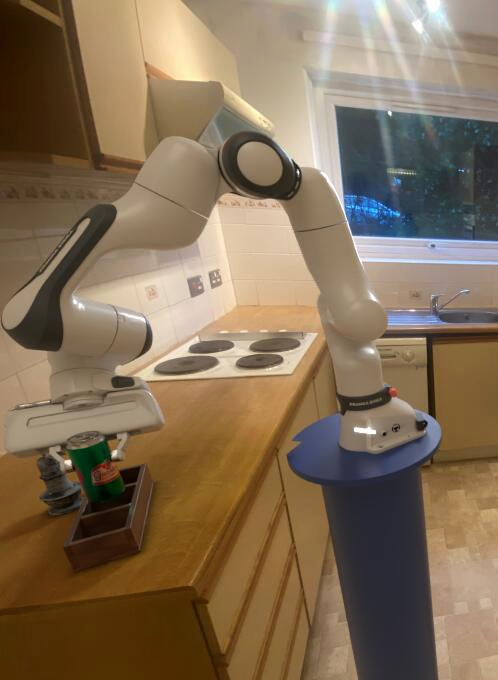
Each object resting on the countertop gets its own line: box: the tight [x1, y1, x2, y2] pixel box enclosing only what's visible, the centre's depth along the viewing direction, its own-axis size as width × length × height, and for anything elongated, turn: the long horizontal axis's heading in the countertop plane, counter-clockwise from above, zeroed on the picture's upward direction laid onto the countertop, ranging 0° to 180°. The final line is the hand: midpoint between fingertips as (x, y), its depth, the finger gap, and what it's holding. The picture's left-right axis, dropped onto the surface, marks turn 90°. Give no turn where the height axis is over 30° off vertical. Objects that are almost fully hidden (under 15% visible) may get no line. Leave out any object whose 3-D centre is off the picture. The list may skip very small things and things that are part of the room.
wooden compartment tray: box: [62, 462, 155, 573], centre depth 78 cm, size 8×23×5 cm, turn 33°
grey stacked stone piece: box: [35, 453, 84, 516], centre depth 81 cm, size 6×6×12 cm
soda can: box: [65, 431, 126, 503], centre depth 74 cm, size 5×5×12 cm
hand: (94, 466), depth 74 cm, fingers closed on soda can, 5 cm apart
